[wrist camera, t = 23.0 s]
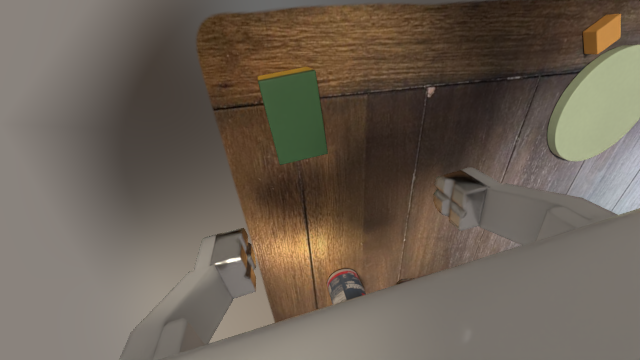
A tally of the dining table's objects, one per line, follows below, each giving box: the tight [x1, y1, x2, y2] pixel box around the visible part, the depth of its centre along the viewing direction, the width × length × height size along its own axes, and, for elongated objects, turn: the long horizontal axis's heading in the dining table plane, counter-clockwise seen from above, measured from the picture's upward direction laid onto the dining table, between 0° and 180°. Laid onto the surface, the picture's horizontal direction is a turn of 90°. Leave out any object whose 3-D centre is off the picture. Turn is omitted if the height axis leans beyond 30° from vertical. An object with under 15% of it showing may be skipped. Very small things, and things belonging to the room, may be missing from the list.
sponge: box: [258, 67, 328, 165], centre depth 25 cm, size 8×5×4 cm, turn 9°
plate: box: [547, 45, 640, 161], centre depth 36 cm, size 16×16×1 cm
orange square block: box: [583, 14, 621, 54], centre depth 30 cm, size 3×3×2 cm
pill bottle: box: [327, 269, 366, 305], centre depth 38 cm, size 5×5×9 cm
